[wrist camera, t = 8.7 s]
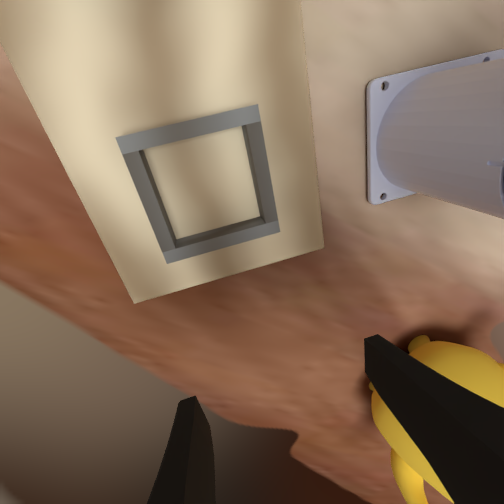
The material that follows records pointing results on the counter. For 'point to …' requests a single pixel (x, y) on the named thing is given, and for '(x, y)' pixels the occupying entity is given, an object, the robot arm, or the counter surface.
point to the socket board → (176, 129)
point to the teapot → (459, 371)
